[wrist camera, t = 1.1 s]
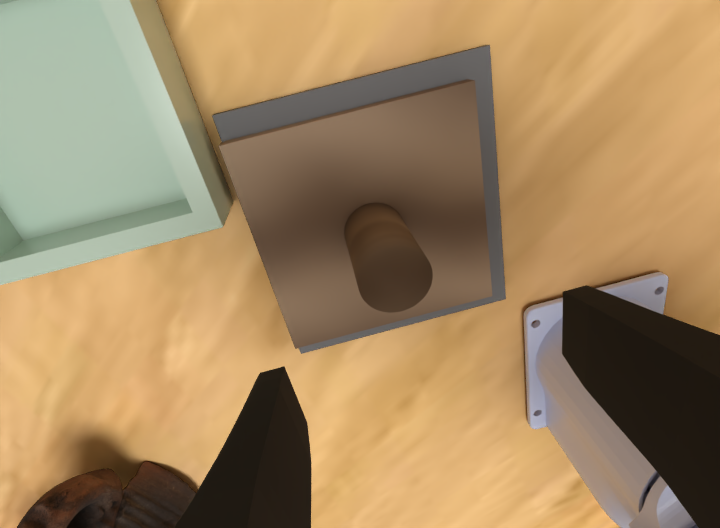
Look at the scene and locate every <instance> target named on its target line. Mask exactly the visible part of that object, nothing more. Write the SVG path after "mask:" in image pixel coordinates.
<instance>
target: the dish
mask: <svg viewBox="0 0 720 528" xmlns="http://www.w3.org/2000/svg"><path fill="white" fill-rule="evenodd" d="M232 204H233V198H232V195H231V193H230V190H229V188H228V185H227V183H226V180H225V177H224V175H223V172H222V170H221V167H220V164H219V162H218V159H217V157H216V154H215V151H214V149H213V146H212V144H211V141H210V138H209V136H208V133H207V131H206V128H205V126H204V123H203V120H202V118H201V115H200V113H199V110H198V107H197V105H196V102H195V100H194V97H193V94H192V92H191V89H190V87H189V84H188V82H187V79H186V76H185V74H184V71H183V69H182V66H181V63H180V61H179V58H178V56H177V53H176V50H175V48H174V45H173V43H172V40H171V38H170V35H169V32H168V30H167V27H166V25H165V22H164V19H163V17H162V14H161V12H160V9H159V6H158V4H157V1H156V0H0V285H2V284H6V283H10V282H14V281H18V280H22V279H25V278H29V277H33V276H37V275H41V274H45V273H48V272H52V271H56V270H60V269H64V268H68V267H72V266H75V265H79V264H83V263H87V262H91V261H95V260H99V259H102V258H106V257H110V256H114V255H118V254H122V253H125V252H129V251H133V250H137V249H141V248H145V247H149V246H152V245H156V244H160V243H164V242H168V241H172V240H175V239H179V238H183V237H187V236H191V235H195V234H199V233H202V232H206V231H210V230H214V229H218V228H222V227H223V226H224V224H225V221H226V219H227V216H228V214H229V211H230V209H231V206H232Z"/></svg>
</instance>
